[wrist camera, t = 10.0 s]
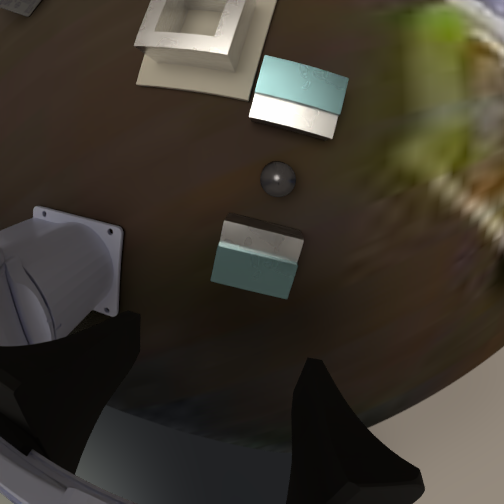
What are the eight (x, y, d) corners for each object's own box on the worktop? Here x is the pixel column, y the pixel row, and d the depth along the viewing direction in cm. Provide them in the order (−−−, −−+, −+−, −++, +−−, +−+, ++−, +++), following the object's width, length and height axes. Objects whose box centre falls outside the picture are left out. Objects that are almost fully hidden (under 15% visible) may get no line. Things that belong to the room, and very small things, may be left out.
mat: (139, 85, 18) (135, 84, 17) (173, -15, 15) (171, -18, 14) (248, 101, 18) (247, 100, 18) (278, -5, 15) (278, -8, 15)
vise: (217, 264, 22) (210, 281, 19) (265, 68, 17) (264, 55, 14) (284, 280, 22) (287, 299, 19) (337, 88, 17) (348, 78, 15)
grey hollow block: (156, 62, 17) (133, 45, 13) (180, -2, 15) (163, -27, 11) (235, 73, 17) (227, 54, 13) (256, 6, 15) (253, -22, 11)
